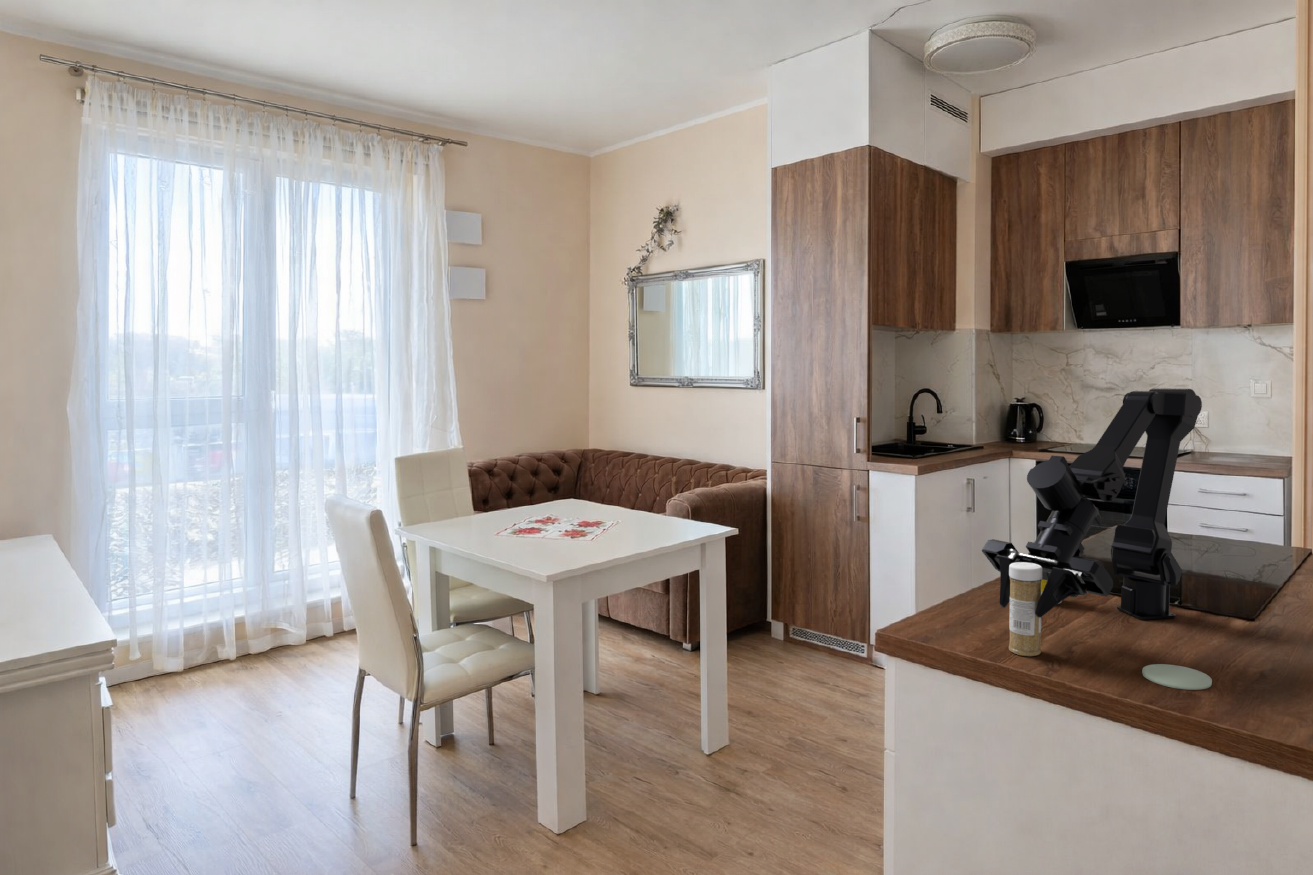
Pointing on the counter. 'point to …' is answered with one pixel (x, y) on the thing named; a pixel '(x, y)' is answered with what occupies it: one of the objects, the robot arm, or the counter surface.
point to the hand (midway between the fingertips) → (1019, 610)
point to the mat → (1177, 676)
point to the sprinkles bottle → (1025, 608)
